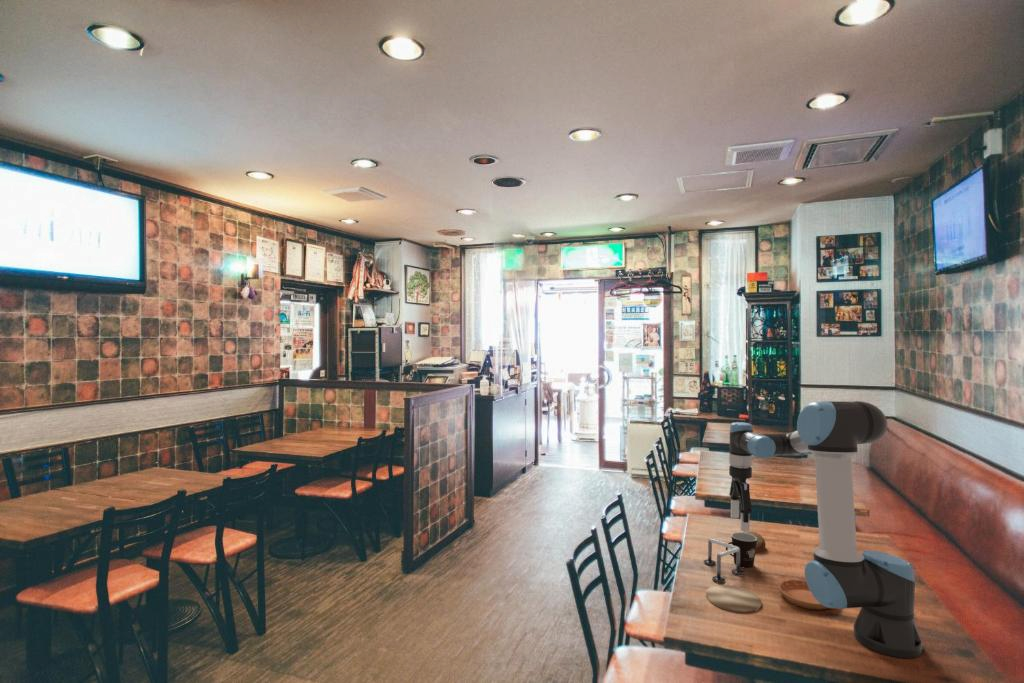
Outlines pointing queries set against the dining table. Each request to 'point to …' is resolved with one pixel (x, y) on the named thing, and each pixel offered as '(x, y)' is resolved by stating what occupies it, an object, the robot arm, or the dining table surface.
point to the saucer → (799, 594)
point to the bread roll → (760, 540)
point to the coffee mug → (744, 548)
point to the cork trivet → (733, 598)
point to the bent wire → (711, 562)
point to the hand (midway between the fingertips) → (739, 524)
